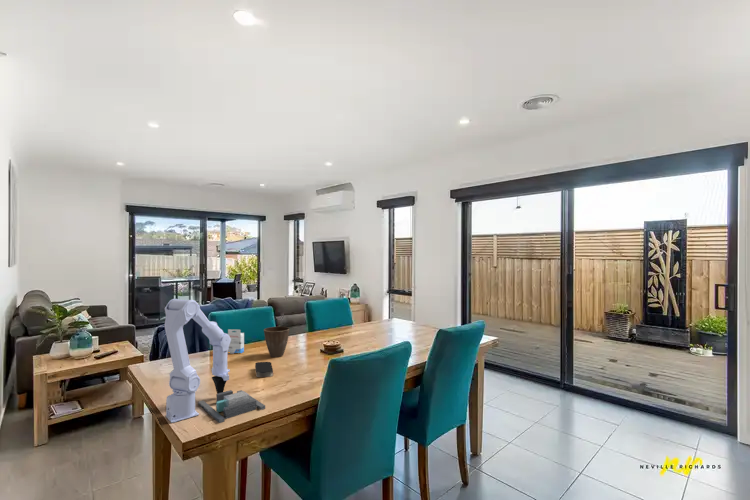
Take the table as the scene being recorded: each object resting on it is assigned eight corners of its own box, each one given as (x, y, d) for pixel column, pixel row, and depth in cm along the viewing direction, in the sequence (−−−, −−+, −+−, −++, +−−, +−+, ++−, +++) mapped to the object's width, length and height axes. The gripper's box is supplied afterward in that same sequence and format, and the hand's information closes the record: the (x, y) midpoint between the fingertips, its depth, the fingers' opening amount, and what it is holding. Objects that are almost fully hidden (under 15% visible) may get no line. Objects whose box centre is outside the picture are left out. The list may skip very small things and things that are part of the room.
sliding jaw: (218, 412, 139) (218, 403, 139) (208, 404, 146) (208, 395, 146) (248, 403, 147) (248, 394, 147) (237, 396, 154) (237, 388, 154)
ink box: (244, 351, 225) (244, 328, 225) (240, 353, 220) (240, 329, 220) (231, 351, 225) (231, 327, 226) (227, 353, 220) (227, 329, 221)
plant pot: (258, 357, 212) (258, 330, 212) (272, 351, 226) (272, 325, 226) (280, 360, 207) (281, 332, 207) (293, 353, 221) (294, 327, 222)
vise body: (219, 423, 131) (219, 413, 131) (198, 404, 146) (198, 396, 146) (265, 408, 143) (265, 399, 143) (241, 392, 159) (241, 384, 159)
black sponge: (254, 369, 192) (254, 362, 192) (271, 367, 195) (271, 360, 195) (255, 379, 177) (256, 371, 177) (273, 377, 180) (273, 370, 180)
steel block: (228, 416, 137) (228, 400, 137) (223, 411, 140) (223, 396, 140) (249, 409, 142) (249, 394, 142) (243, 405, 146) (243, 390, 146)
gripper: (236, 363, 151) (236, 395, 151) (223, 355, 161) (222, 386, 161) (219, 366, 146) (219, 400, 146) (206, 358, 157) (206, 390, 157)
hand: (219, 393), depth 153 cm, fingers closed
